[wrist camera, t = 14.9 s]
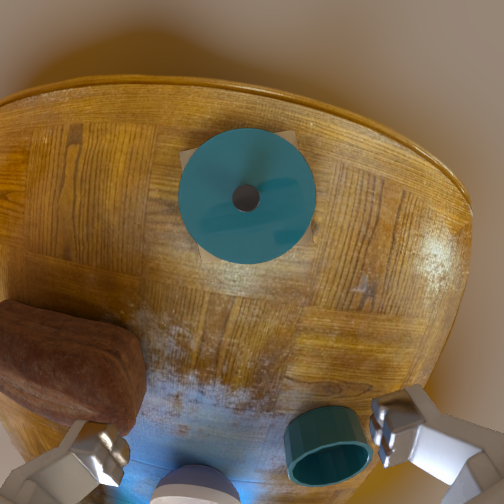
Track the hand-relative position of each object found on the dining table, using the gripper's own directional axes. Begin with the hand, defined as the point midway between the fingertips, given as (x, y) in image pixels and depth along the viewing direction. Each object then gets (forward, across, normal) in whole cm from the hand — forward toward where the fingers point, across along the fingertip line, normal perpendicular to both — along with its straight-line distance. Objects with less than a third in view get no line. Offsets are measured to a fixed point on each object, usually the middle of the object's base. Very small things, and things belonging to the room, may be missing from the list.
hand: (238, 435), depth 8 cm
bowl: (+26, +17, +42) cm, 52 cm away
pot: (+26, -6, +31) cm, 41 cm away
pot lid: (+23, -1, -6) cm, 24 cm away
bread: (+26, +29, +10) cm, 40 cm away
